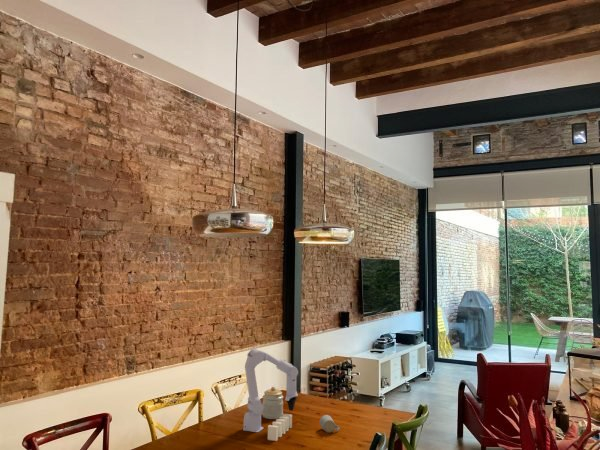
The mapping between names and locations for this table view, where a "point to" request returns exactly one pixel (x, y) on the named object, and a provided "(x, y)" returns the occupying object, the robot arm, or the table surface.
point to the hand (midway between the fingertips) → (291, 410)
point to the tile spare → (273, 432)
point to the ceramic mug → (328, 424)
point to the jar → (272, 404)
